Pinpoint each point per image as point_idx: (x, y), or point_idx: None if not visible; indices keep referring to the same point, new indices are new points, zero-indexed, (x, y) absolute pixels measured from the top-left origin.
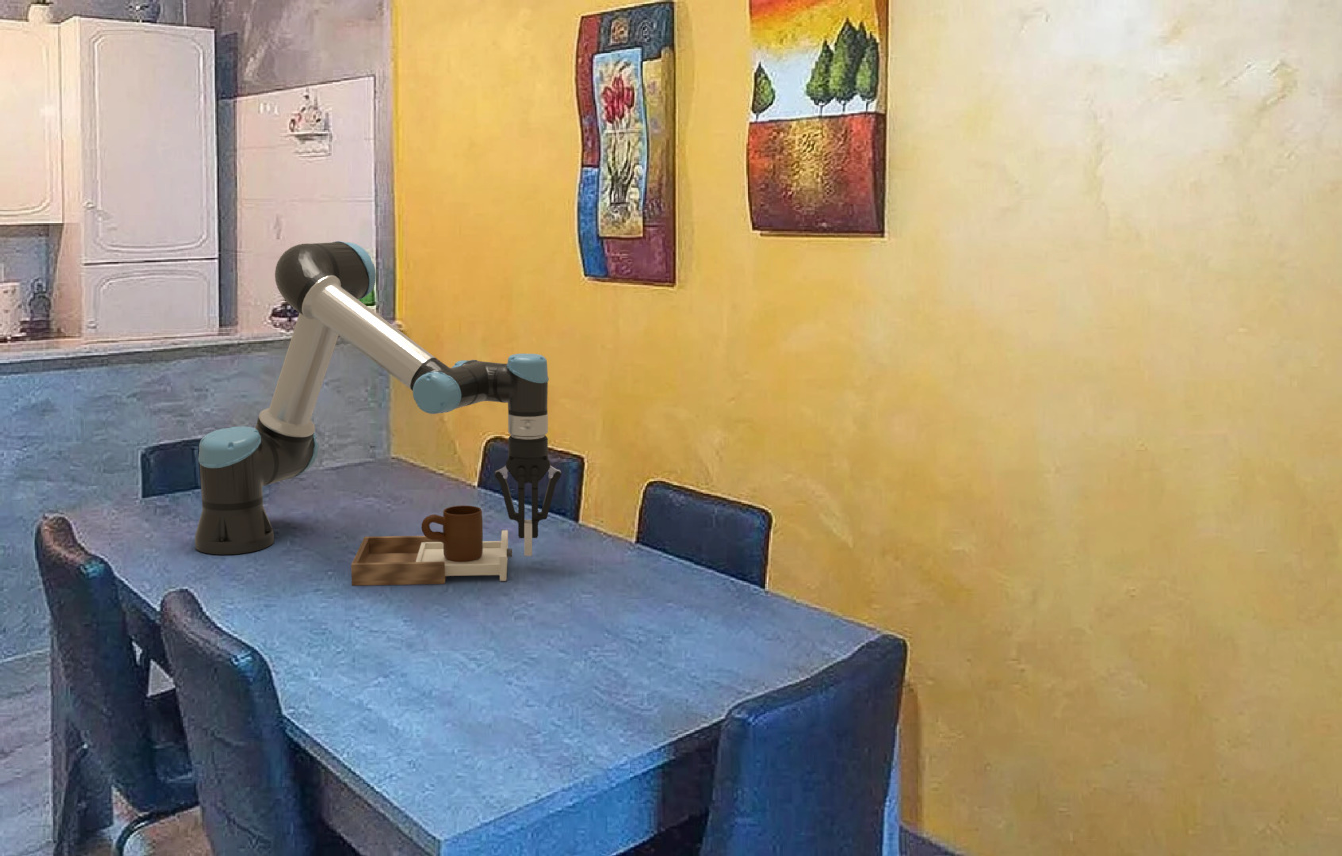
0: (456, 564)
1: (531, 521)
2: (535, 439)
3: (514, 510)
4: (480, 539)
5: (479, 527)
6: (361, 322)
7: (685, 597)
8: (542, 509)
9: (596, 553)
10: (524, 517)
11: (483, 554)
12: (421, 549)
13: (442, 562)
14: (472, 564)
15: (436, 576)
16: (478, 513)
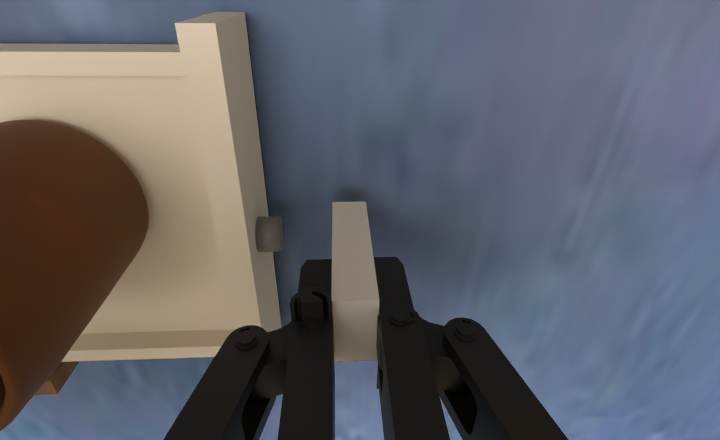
0: (95, 352)
1: (374, 329)
2: None
3: (260, 367)
4: (115, 279)
5: (79, 332)
6: None
7: (710, 410)
8: (460, 368)
9: (665, 23)
10: (334, 387)
11: (148, 170)
12: None
13: (46, 387)
14: (154, 352)
15: None
16: (20, 404)
